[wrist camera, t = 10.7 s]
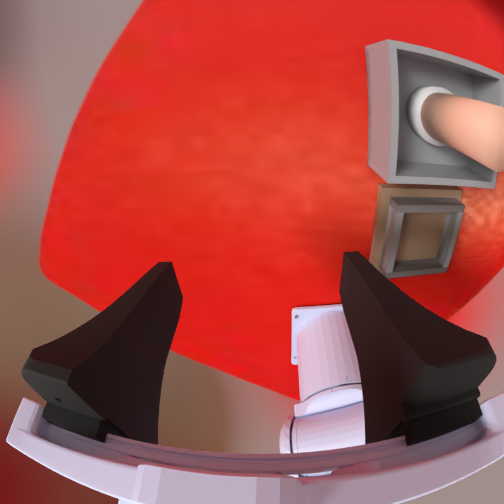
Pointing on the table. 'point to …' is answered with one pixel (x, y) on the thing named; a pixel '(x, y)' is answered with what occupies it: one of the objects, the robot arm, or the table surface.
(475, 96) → the bin
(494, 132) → the peach cylinder
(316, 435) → the robot arm
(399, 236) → the square framed plate
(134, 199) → the table surface
